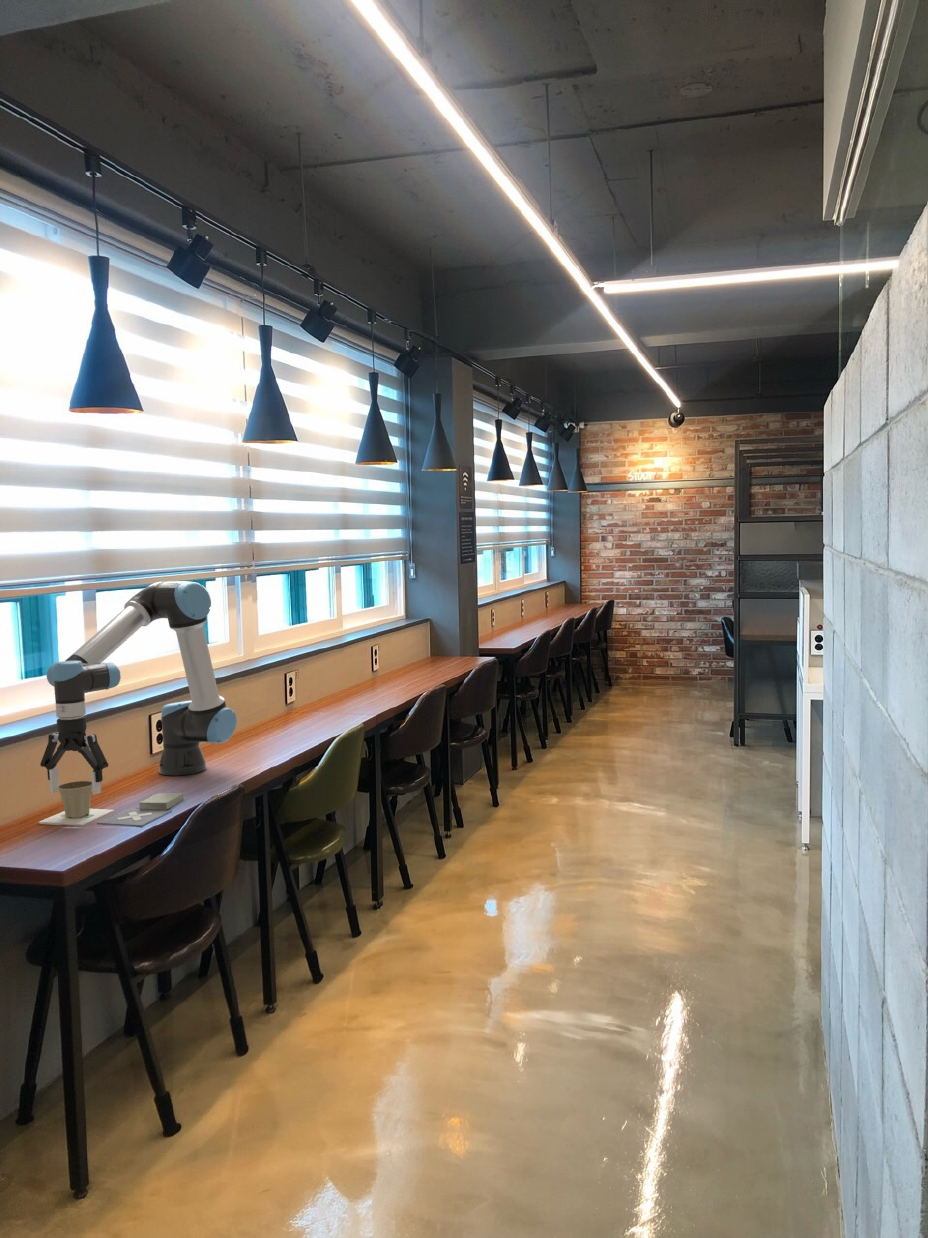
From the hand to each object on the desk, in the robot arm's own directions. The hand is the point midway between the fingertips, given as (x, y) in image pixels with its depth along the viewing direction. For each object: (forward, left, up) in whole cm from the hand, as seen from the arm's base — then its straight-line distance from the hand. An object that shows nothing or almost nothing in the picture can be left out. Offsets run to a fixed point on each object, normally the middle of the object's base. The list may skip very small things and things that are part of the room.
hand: (75, 792), depth 264 cm
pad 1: (0, 0, -7) cm, 7 cm away
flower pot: (0, 0, -7) cm, 7 cm away
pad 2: (-2, +17, -7) cm, 19 cm away
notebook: (-15, +17, -7) cm, 24 cm away
